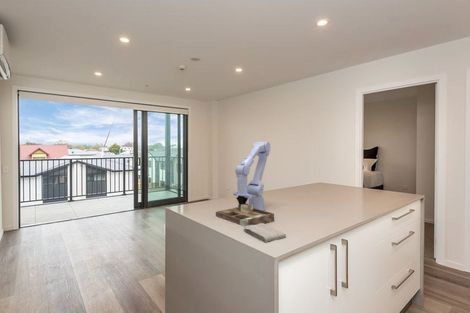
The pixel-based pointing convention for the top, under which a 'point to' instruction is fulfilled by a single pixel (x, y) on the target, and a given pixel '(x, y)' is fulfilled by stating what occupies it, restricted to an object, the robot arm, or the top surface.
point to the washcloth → (264, 232)
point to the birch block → (246, 208)
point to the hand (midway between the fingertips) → (242, 209)
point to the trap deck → (246, 216)
